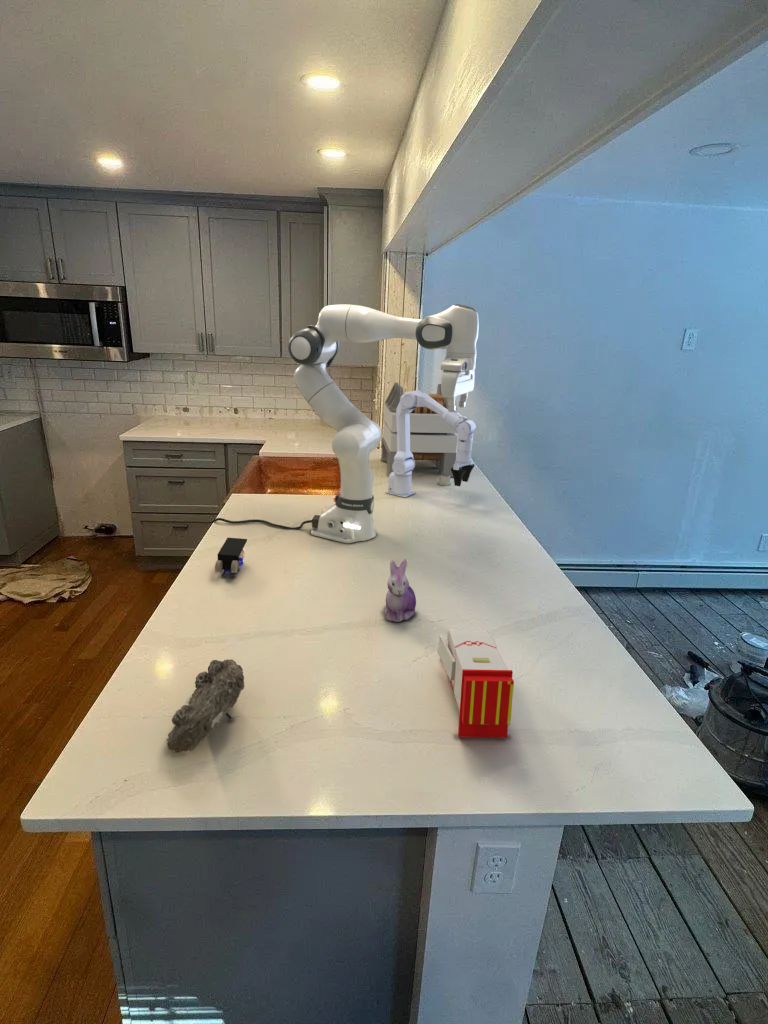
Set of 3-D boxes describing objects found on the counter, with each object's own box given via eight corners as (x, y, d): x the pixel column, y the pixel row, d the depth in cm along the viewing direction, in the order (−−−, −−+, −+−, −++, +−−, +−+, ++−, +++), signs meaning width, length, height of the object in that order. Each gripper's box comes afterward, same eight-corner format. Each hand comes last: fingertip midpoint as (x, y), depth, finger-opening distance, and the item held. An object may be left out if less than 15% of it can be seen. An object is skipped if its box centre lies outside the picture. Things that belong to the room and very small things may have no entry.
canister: (451, 484, 260) (452, 475, 258) (444, 486, 256) (445, 477, 255) (443, 481, 263) (444, 472, 262) (436, 483, 260) (437, 474, 258)
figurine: (392, 627, 141) (395, 572, 136) (374, 608, 149) (376, 556, 144) (425, 619, 145) (429, 566, 140) (405, 601, 154) (408, 550, 149)
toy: (488, 613, 130) (523, 677, 101) (484, 667, 133) (517, 744, 104) (435, 612, 130) (455, 676, 101) (432, 666, 133) (451, 743, 103)
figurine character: (238, 584, 162) (249, 557, 175) (236, 562, 158) (247, 536, 172) (215, 584, 161) (227, 556, 175) (212, 561, 158) (225, 535, 171)
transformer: (380, 458, 298) (383, 379, 285) (441, 459, 302) (447, 381, 288) (387, 476, 267) (391, 388, 253) (455, 477, 270) (463, 391, 257)
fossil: (192, 660, 117) (244, 628, 112) (224, 691, 120) (276, 661, 115) (142, 746, 98) (202, 712, 93) (182, 779, 101) (242, 748, 96)
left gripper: (461, 359, 178) (458, 404, 183) (438, 364, 161) (435, 412, 166) (481, 361, 176) (477, 406, 180) (459, 365, 158) (455, 415, 163)
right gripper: (466, 455, 215) (463, 489, 220) (480, 448, 227) (477, 481, 232) (449, 452, 218) (446, 486, 223) (464, 446, 230) (461, 478, 235)
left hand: (456, 409), depth 173 cm, fingers open, 8 cm apart
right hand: (461, 483), depth 228 cm, fingers open, 7 cm apart
